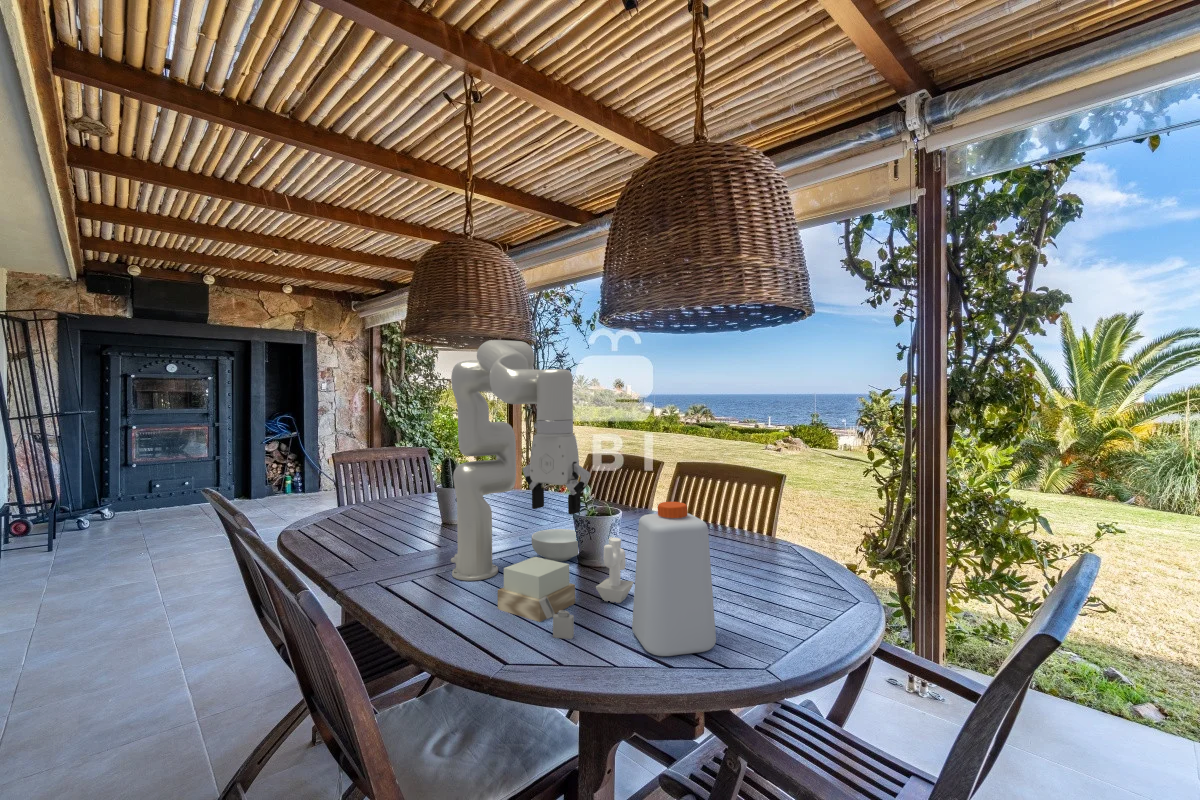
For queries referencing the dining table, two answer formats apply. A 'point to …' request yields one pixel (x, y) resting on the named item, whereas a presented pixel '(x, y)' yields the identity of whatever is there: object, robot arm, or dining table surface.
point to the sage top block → (536, 577)
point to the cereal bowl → (555, 544)
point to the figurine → (614, 573)
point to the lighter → (559, 620)
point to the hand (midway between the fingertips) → (555, 510)
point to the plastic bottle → (673, 583)
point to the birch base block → (535, 602)
